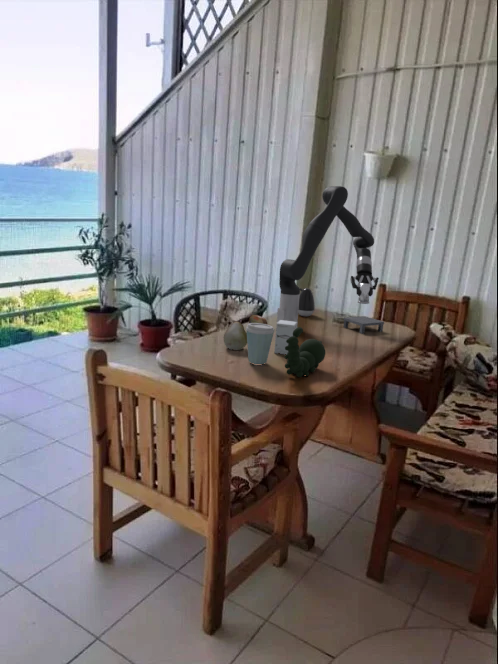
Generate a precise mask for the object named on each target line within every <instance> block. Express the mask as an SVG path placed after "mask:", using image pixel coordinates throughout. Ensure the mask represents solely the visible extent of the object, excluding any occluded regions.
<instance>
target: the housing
mask: <svg viewBox="0 0 498 664" xmlns="http://www.w3.org/2000/svg"><path fill="white" fill-rule="evenodd" d="M370 285H371V284H370V283H360V295H359V296H358V300H357V303H358V304H360V305H361V304H362V305H368V304H370V296H369V295H370Z"/></svg>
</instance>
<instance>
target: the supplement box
mask: <svg viewBox="0 0 498 664" xmlns="http://www.w3.org/2000/svg"><path fill="white" fill-rule="evenodd" d="M275 327H276V328H275V340H274V351H273V353H274V354H278V353H280V354H279V355H285V354H287V353H288V350H285V347H286V346H288V343H287V342H286V340H287V339H289V337H291V336H293V331H294V330H295V329H296V328H297V327H298V322H293V321H285V320H280V321H279V322H277V321H276V326H275Z"/></svg>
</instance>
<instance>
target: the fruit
mask: <svg viewBox="0 0 498 664" xmlns="http://www.w3.org/2000/svg"><path fill="white" fill-rule="evenodd" d="M242 321H243V319H239V321H236V320H235V321H234V322H233V323H232V324H231V325H230V326H229V327H228V328H226V330H225V332H224V334H223V343H224V346H225V347H226V348H227V349H228V348H229V349H228V350H232V349H234V350H233V351H239V350H242V349H244V348H245V347H246V346H248V344H247V331H246V329H245V327H244V325H243V324H242Z"/></svg>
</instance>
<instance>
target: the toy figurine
mask: <svg viewBox="0 0 498 664" xmlns="http://www.w3.org/2000/svg"><path fill="white" fill-rule="evenodd" d="M302 333H304V329H303V327H301V326H297V328H296V329H295V330H294V331H293V336H291V337H289V339H287V340H286V342H287V343H288V346H286V347H285V350H288V353H287V354H286V355H285V354H284V359H286V361H287V362H286V363H285V364H284V368H285V369H286V374H287V375H289V376H291V375H292V373H294V374H293V375H296V377H298V378H302V377H303V375H306V376H308V375H309V376H310V372H313V373H315V371H316V369H318V367H319V364H321V363H322V361H324V360H325V358H326V348H325V346H324V344H323V341H322V340H318V339H315V338H308V339H305V340H304V341H303V342H302V343H301V344H300V345H299V337H300V336H301V334H302ZM309 376H308V377H309Z"/></svg>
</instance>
